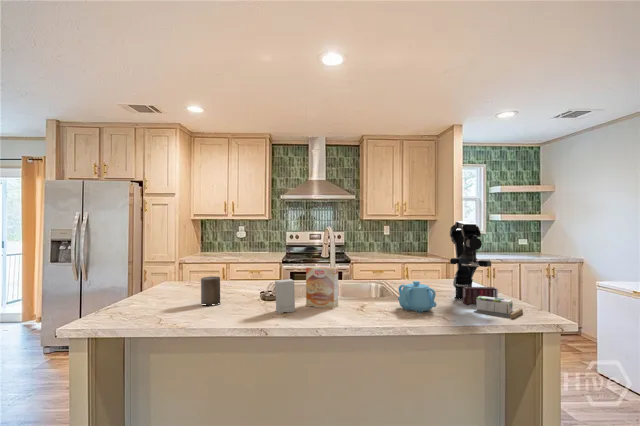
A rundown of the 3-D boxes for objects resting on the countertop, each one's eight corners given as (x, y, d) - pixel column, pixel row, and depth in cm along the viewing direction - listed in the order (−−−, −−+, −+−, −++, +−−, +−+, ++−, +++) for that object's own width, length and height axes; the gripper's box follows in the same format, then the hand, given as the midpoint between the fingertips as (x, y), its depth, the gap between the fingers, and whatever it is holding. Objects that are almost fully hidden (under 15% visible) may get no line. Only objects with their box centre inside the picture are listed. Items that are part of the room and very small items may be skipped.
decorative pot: (430, 306, 184) (430, 278, 184) (438, 314, 168) (437, 284, 168) (397, 305, 186) (397, 278, 186) (401, 313, 170) (401, 284, 170)
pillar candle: (224, 303, 193) (224, 274, 193) (209, 307, 185) (209, 277, 185) (211, 301, 198) (211, 273, 198) (196, 305, 190) (196, 275, 190)
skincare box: (291, 309, 179) (291, 278, 179) (295, 312, 174) (295, 280, 174) (274, 310, 176) (274, 279, 177) (277, 313, 171) (277, 281, 171)
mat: (473, 312, 171) (473, 307, 171) (484, 307, 181) (484, 303, 181) (513, 318, 159) (512, 314, 159) (522, 313, 169) (522, 309, 169)
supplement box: (494, 287, 188) (462, 286, 190) (498, 288, 184) (465, 288, 185) (494, 303, 188) (462, 303, 190) (497, 306, 183) (465, 305, 185)
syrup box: (479, 295, 179) (512, 298, 170) (480, 307, 179) (513, 311, 170) (476, 297, 175) (509, 301, 166) (476, 310, 175) (510, 314, 166)
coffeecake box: (305, 306, 185) (305, 267, 185) (311, 303, 192) (311, 265, 192) (333, 309, 179) (333, 268, 180) (338, 305, 186) (338, 267, 186)
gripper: (444, 248, 186) (445, 279, 186) (482, 250, 173) (482, 283, 172) (454, 247, 194) (455, 276, 193) (491, 248, 181) (491, 280, 180)
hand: (470, 279), depth 185 cm, fingers closed
